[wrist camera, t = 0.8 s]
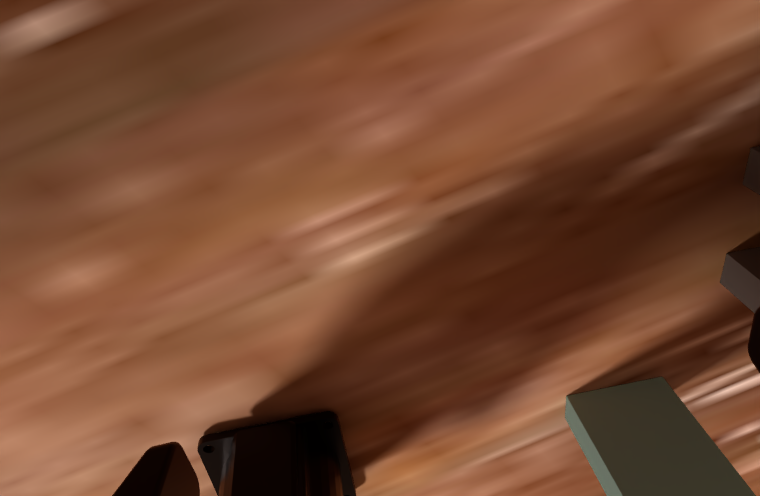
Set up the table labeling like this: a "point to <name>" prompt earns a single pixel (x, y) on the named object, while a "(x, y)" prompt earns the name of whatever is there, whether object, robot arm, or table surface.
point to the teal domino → (649, 443)
